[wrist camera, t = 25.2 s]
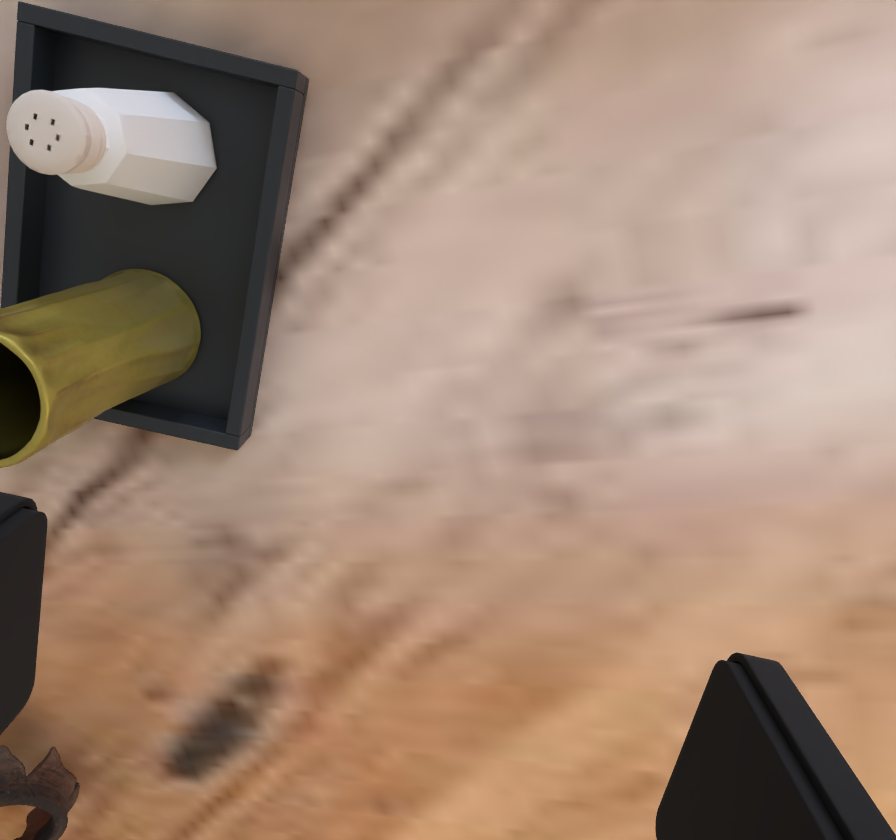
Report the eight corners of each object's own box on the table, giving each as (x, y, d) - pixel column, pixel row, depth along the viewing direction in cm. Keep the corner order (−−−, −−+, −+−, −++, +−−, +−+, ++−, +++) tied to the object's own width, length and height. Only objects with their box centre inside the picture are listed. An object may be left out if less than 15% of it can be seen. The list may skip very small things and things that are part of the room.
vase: (97, 386, 40) (-93, 485, 27) (76, 270, 38) (-139, 312, 25) (209, 382, 40) (76, 479, 26) (193, 265, 38) (42, 305, 25)
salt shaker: (99, 187, 37) (-45, 184, 27) (119, 74, 36) (-25, 23, 25) (205, 222, 38) (104, 233, 27) (230, 111, 36) (133, 77, 26)
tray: (47, 13, 35) (17, 0, 33) (309, 78, 36) (298, 70, 34) (22, 384, 41) (-5, 396, 38) (250, 436, 41) (237, 451, 39)
